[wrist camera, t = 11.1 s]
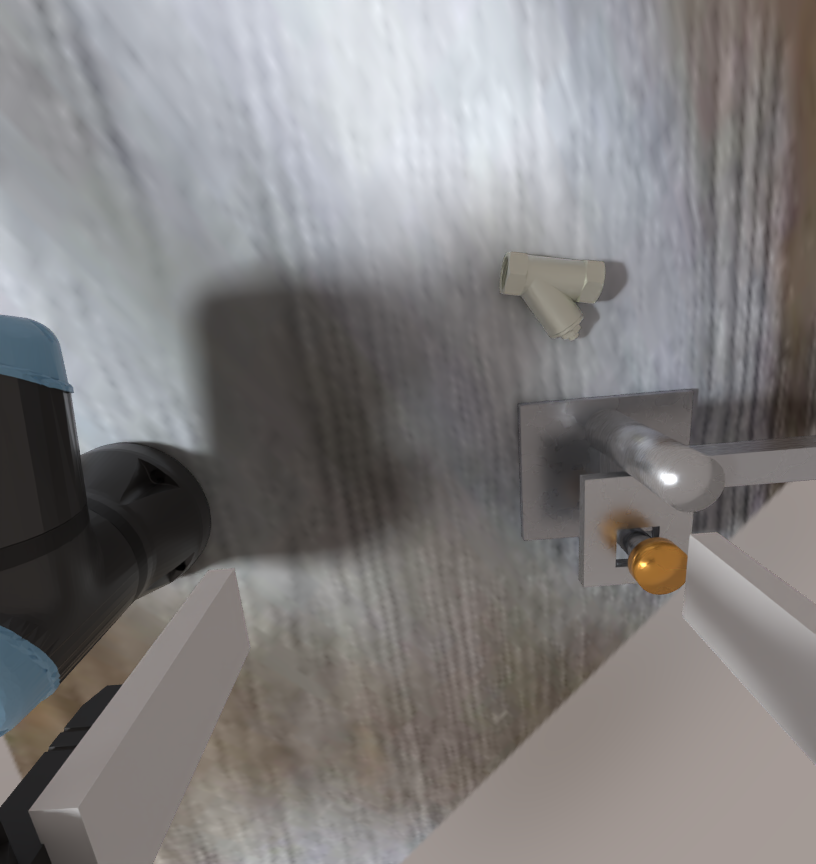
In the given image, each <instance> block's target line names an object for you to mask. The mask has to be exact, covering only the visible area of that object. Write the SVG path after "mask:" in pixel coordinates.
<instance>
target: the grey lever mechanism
mask: <svg viewBox="0 0 816 864" xmlns="http://www.w3.org/2000/svg"><path fill="white" fill-rule="evenodd" d="M692 403H693V391H692V390H688V389H683V390H672V391H660V392H649V393H637V394H625V395H614V396H602V397H591V398H579V399H567V400H556V401H544V402H533V403H521V404H518V427H519V464H520V502H521V536H522V538H523V540H524V541H528V540H540V539H553V538H565V537H578V536H579V581H580V582H581V584H582V585H583V587H594V586H607V585H620V584H633V583H638V582H637V581H636V580H635V579H634V578H633V576H632V575H631V574H630V572H629V569H628V559H618V560H616V537H617V530H618V529H631V528H641V529H642V530H644V531H652V538H654V537H662V538H666V539H668V540H670V541H672V542H673V543H674V544H675V545H677V546H678V547H679V548H680V549H681V550H682V551H683V552H685V553H686V554H687V556H688V548H689V536H690V534H692V524H693V512H698V511H701V510H704V509H706V508H708V507H709V506H711V505H712V504H713V503H714V502H715V501H716V500H717V499H718V498H719V497H720V495H721V493H722V491H723V489H724V487H732V486H744V485H757V484H769V483H781V482H793V481H805V480H816V435H812V436H800V437H788V438H776V439H764V440H752V441H740V442H728V443H716V444H704V445H692V446H689V443H690V430H691V416H692Z"/></svg>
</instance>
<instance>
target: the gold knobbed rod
mask: <svg viewBox="0 0 816 864" xmlns="http://www.w3.org/2000/svg"><path fill="white" fill-rule="evenodd" d="M616 542H617V543H618V544H619V545H620V546H621V548H622V549H623V550H624V551H625V552H626V553H627V554H628V555H629V558H628V569H629V572H630V574H631V575H632V576H633V578H634V579H635V580H636V581H637V582H638V584H639V585H640V586H641V587H642V588H643V589H644V590H646V591H647V592H649V593H652V594H658V595H661V594H668V593H671V592H673V591H675V590H677V589H679V588H680V587H681V586H682V585H683V584H684V583H685V582H686V570H687V559H688V556H687V554H686V553H685V552H683V551H682V550H681V549H680V548H679V547H678V546H677V545H675V544H674V543H673V542H672V541H670V540H668V539H666V538H662V537H654V538H651V537H650V536H649V535H648V534H647V533H646V532H645V531H644V530H642V529H641V528H631V529H618V530H617V537H616Z"/></svg>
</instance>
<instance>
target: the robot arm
mask: <svg viewBox="0 0 816 864" xmlns="http://www.w3.org/2000/svg"><path fill="white" fill-rule="evenodd" d="M71 393H74V391H73V387H72V386H71V385H70V384H69V383H68V379H67V375H66V370H65V366H64V361H63V356H62V352H61V347H60V344H59V341H58V339H57V337H56V336H55V335H54V333H53V332H52V331H51V330H50V329H48V328H47V327H46V326H44V325H43V324H41V323H39V322H37V321H34V320H31V319H28V318H22V317H15V316H8V315H0V737H1V736H3V735H4V734H5V733H7V732H8V731H10V730H11V729H13V728H14V727H15V726H16V725H17V724H18V723H19V722H20V721H21V720H22V719H23V718H24V717H25V716H26V715H27V714H28V713H29V712H30V711H31V710H33V709H34V708H35V707H36V706H37V705H38V704H39V703H40V702H41V701H43V700H45V699H46V698H47V697H48V696H50V695H52V694H53V693H54V692H55V690H56V689H57V688H58V686H59V684H60V683H61V682H62V681H63V680H64V679H65V678H66V677H67V675H68V674H69V673H70V672H71V671H72V670H73V669H74V668H75V666H76V665H77V664H78V663H79V662H80V661H81V660H82V659H83V658H84V656H85V655H86V654H87V653H88V652H89V651H90V650H91V649H92V647H93V646H94V645H95V644H96V643H97V642H98V641H99V640H100V639H101V637H102V636H103V635H104V634H105V633H106V632H107V631H108V630H109V629H110V627H111V626H112V625H113V624H114V623H115V622H116V621H117V620H118V618H119V617H120V616H121V615H122V614H123V613H124V612H125V611H126V609H127V608H128V607H129V606H130V605H131V604H132V603H133V602H134V601H135V600H136V599H139V598H141V597H143V596H145V595H147V594H149V593H151V592H153V591H155V590H157V589H159V588H161V587H163V586H165V585H167V584H169V583H171V582H173V581H174V580H176V579H177V578H179V577H180V576H181V575H182V574H184V573H185V572H186V571H187V570H188V569H189V568H190V566H191V565H192V564H193V563H194V562H195V560H196V559H197V558H198V557H199V555H200V554H201V553H202V551H203V549H204V547H205V545H206V543H207V540H208V537H209V532H210V511H209V506H208V503H207V500H206V497H205V495H204V493H203V491H202V489H201V487H200V485H199V484H198V482H197V481H196V479H195V478H194V477H193V476H192V474H191V473H190V472H189V471H188V470H187V469H186V468H185V467H184V466H183V465H181V464H180V463H179V462H178V461H176V460H175V459H173V458H172V457H170V456H169V455H167V454H165V453H163V452H161V451H159V450H156V449H154V448H151V447H147V446H144V445H139V444H132V443H115V444H109V445H104V446H101V447H98V448H95V449H93V450H91V451H89V452H87V453H84V454H82V455H80V450H79V443H78V436H77V430H76V423H75V417H74V410H73V403H72V397H71ZM682 616H683V618H684V619H685V620H686V621H687V622H688V623H689V625H690V626H691V627H692V628H693V629H694V630H695V631H696V633H697V634H698V635H699V636H700V637H701V638H702V639H703V640H704V642H705V643H706V644H707V645H708V646H709V647H710V648H711V649H712V650H713V652H715V654H716V655H717V656H718V657H719V658H720V659H721V661H722V662H723V663H724V664H725V665H726V666H727V667H728V668H729V670H730V671H731V672H732V673H733V674H734V675H735V676H736V677H737V678H738V680H739V681H740V682H741V683H742V684H743V685H744V686H745V687H746V688H747V690H748V691H749V692H750V693H751V694H752V695H753V696H754V697H755V699H756V700H757V701H758V702H759V703H760V704H761V705H762V706H763V708H764V709H765V710H766V711H767V712H768V713H769V714H770V715H771V716H772V718H773V719H774V720H775V721H776V722H777V723H778V724H779V725H780V726H781V728H782V729H783V730H784V731H785V732H786V733H787V734H788V735H789V737H790V738H791V739H792V740H793V741H794V742H795V743H796V744H797V746H798V747H799V748H800V749H801V750H802V751H803V752H804V753H805V755H806V756H807V757H808V758H809V759H810V760H811V761H812V762H813V764H814V765H815V766H816V604H815V603H814V602H813V601H811V600H810V599H808V598H807V597H806V596H804V595H803V594H801V593H800V592H799V591H797V590H796V589H794V588H793V587H792V586H790V585H789V584H788V583H786V582H785V581H784V580H782V579H781V578H779V577H778V576H776V575H775V574H774V573H772V572H771V571H770V570H768V569H767V568H766V567H764V566H762V565H761V564H760V563H759V562H757V561H756V560H755V559H753V558H752V557H750V556H749V555H748V554H746V553H745V552H743V551H742V550H741V549H739V548H738V547H737V546H735V545H734V544H732V543H731V542H730V541H728V540H727V539H726V538H724V537H723V536H721V535H720V534H719V533H717V532H711V533H697V534H690V536H689V548H688V559H687V570H686V582H685V593H684V605H683V615H682ZM249 650H250V643H249V638H248V633H247V628H246V623H245V618H244V613H243V608H242V603H241V598H240V593H239V588H238V583H237V578H236V573H235V568H229V569H216V570H208V571H207V572H206V574H205V575H204V576H203V578H202V579H201V580H200V582H199V583H198V584H197V586H196V587H195V589H194V590H193V591H192V593H191V594H190V595H189V597H188V598H187V599H186V601H185V602H184V603H183V605H182V606H181V607H180V609H179V610H178V611H177V613H176V614H175V615H174V617H173V618H172V619H171V621H170V622H169V623H168V625H167V626H166V627H165V629H164V630H163V631H162V633H161V634H160V635H159V637H158V638H157V639H156V641H155V642H154V643H153V645H152V646H151V647H150V649H149V650H148V651H147V653H146V654H145V655H144V657H143V658H142V659H141V661H140V662H139V663H138V665H137V666H136V667H135V669H134V670H133V672H132V673H131V674H130V676H129V677H128V678H127V680H126V681H125V682H124V684H123V685H110V686H106V687H105V688H104V689H102V690H101V691H100V692H99V693H97V694H96V695H95V696H94V697H92V698H91V699H90V700H89V701H87V702H86V703H85V704H84V705H83V706H82V707H81V708H80V709H79V710H78V712H77V713H76V714H75V715H74V717H73V718H72V719H71V720H70V722H69V723H68V724H67V725H66V727H65V728H64V732H62V733H60V734H59V735H58V736H57V738H56V739H55V740H54V741H53V743H52V744H51V745H50V746H49V750H48V752H45V753H44V754H43V755H42V756H41V757H40V759H39V760H38V761H37V762H36V764H35V765H34V766H33V767H32V769H31V770H30V771H29V772H28V774H27V775H26V776H25V777H24V779H23V780H22V781H21V782H20V783H19V785H18V786H17V787H16V789H15V790H14V791H13V792H12V793H11V795H10V796H9V797H8V798H7V800H6V801H5V802H4V803H3V804H2V806H1V807H0V864H153V862H154V860H155V858H156V855H157V853H158V851H159V849H160V847H161V844H162V842H163V840H164V838H165V836H166V833H167V831H168V829H169V827H170V825H171V822H172V820H173V818H174V816H175V813H176V811H177V809H178V807H179V805H180V802H181V800H182V798H183V796H184V794H185V791H186V789H187V787H188V785H189V783H190V780H191V778H192V776H193V774H194V772H195V769H196V767H197V765H198V763H199V760H200V758H201V756H202V754H203V752H204V749H205V747H206V745H207V743H208V741H209V738H210V736H211V734H212V732H213V730H214V727H215V725H216V723H217V721H218V719H219V716H220V714H221V712H222V710H223V707H224V705H225V703H226V701H227V699H228V696H229V694H230V692H231V690H232V688H233V685H234V683H235V681H236V679H237V677H238V674H239V672H240V670H241V668H242V666H243V663H244V661H245V659H246V657H247V655H248V652H249Z"/></svg>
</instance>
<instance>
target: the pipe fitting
mask: <svg viewBox="0 0 816 864" xmlns="http://www.w3.org/2000/svg"><path fill="white" fill-rule="evenodd" d="M604 281H605V265H604V262H601V261H592V260H571V259H562V258H553V257H544V256H534V255H528V254H527V253H518V252H507V253H506V254H505V257H504V260H503V263H502V268H501V273H500V282H499V291H500V293H501V294H506V295H516V296H520V295H521V297H522V298H523V300H524V301H525V303H526V304H527V305H528V307H529V308H530V310H531V311H532V312H533V314H534V315H535V317H536V318H537V320H538V321H539V322H540V324H541V325H542V327H543V328H544V329H545V331H546V332H547V334H548V335H549V337H550V338H551V339H555V338H558V337H561V338H562V339H564V340H565V339H569V340H570V341H572V340H574V339H576V338H577V337H578V336H579V334H578V331H579V330H580V328H581V327H580V325H579V323H580V322H581V321H582V320H583V318H584V315H583V313H582V312H581V311H580V309H579V308H578V306H577V305H576V303H575V302H581V303H590V304H594V303H595V302H596V301H597V299H598V298H599V296H600V294H601V292H602V289H603V286H604Z"/></svg>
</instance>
